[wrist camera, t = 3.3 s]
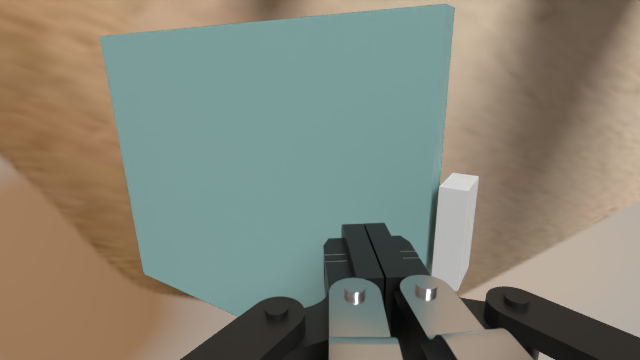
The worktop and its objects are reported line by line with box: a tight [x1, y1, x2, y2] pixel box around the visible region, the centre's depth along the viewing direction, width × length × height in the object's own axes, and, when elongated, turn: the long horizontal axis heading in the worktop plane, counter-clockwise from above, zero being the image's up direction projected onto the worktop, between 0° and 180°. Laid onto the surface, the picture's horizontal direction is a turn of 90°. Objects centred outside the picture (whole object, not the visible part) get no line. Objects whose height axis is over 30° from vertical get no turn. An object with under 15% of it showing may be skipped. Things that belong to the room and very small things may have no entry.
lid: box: [100, 4, 479, 317], centre depth 20 cm, size 21×16×2 cm
